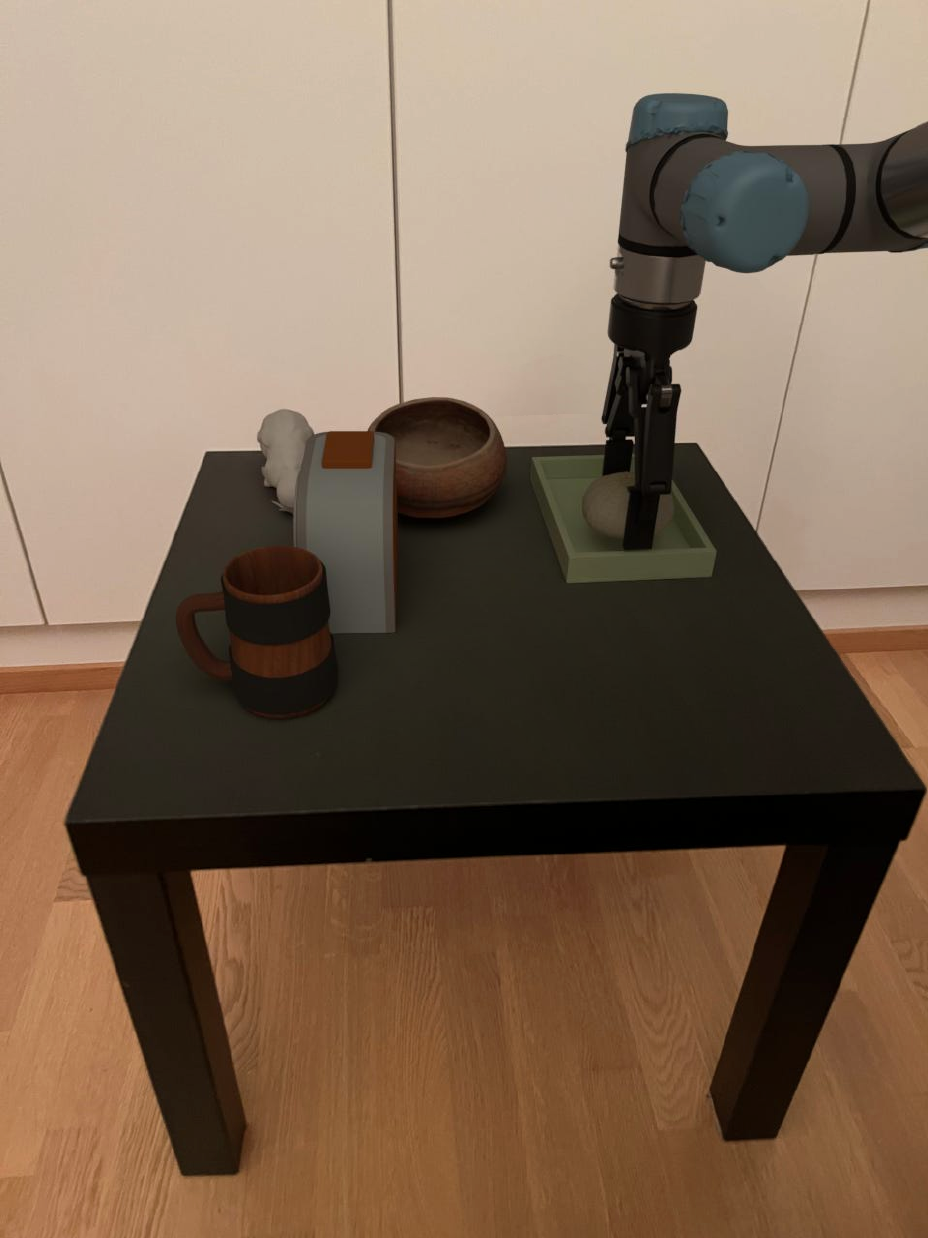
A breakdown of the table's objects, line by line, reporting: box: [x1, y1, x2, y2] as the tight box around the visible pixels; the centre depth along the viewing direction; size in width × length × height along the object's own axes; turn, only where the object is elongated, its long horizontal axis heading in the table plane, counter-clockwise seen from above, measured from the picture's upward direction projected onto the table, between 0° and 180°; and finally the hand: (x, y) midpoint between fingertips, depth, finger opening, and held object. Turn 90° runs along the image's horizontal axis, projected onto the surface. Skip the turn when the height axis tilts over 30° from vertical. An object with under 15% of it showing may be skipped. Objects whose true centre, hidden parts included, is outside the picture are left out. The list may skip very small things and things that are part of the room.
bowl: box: [367, 396, 508, 519], centre depth 102 cm, size 16×16×10 cm
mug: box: [175, 545, 339, 720], centre depth 75 cm, size 9×12×12 cm
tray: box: [529, 453, 717, 584], centre depth 101 cm, size 22×15×3 cm
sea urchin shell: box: [582, 471, 675, 539], centre depth 95 cm, size 9×8×8 cm
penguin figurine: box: [256, 408, 315, 515], centre depth 103 cm, size 6×8×12 cm
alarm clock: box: [292, 430, 399, 634], centre depth 87 cm, size 15×8×14 cm, turn 2°
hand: (624, 521), depth 96 cm, fingers closed on sea urchin shell, 9 cm apart
